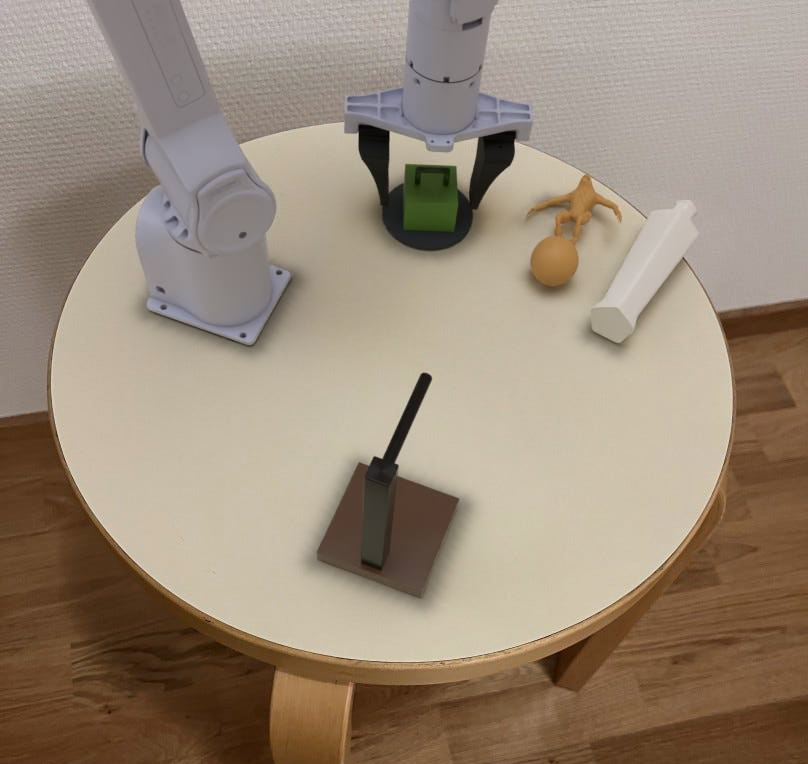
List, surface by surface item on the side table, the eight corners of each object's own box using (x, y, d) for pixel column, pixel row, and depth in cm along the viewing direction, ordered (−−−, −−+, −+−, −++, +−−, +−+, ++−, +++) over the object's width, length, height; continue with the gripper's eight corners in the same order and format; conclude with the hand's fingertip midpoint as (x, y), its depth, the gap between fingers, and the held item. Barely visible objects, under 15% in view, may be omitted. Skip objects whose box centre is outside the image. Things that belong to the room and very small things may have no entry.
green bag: (403, 230, 78) (406, 186, 73) (403, 192, 80) (406, 147, 75) (454, 232, 78) (460, 188, 74) (452, 194, 80) (458, 149, 75)
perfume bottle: (644, 347, 73) (716, 230, 79) (628, 303, 70) (704, 186, 76) (595, 346, 76) (668, 234, 82) (578, 304, 73) (655, 192, 79)
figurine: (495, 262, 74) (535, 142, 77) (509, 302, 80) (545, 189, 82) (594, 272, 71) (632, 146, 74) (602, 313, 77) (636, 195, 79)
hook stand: (316, 559, 65) (310, 464, 52) (363, 458, 68) (367, 347, 56) (420, 598, 64) (438, 511, 51) (462, 494, 68) (488, 390, 55)
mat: (368, 233, 78) (368, 230, 78) (401, 171, 81) (401, 167, 81) (454, 262, 77) (455, 259, 77) (484, 198, 80) (485, 195, 80)
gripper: (343, 90, 63) (343, 231, 75) (548, 99, 64) (515, 237, 76) (345, 22, 66) (345, 169, 78) (540, 32, 67) (510, 176, 79)
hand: (428, 199), depth 77 cm, fingers open, 7 cm apart
